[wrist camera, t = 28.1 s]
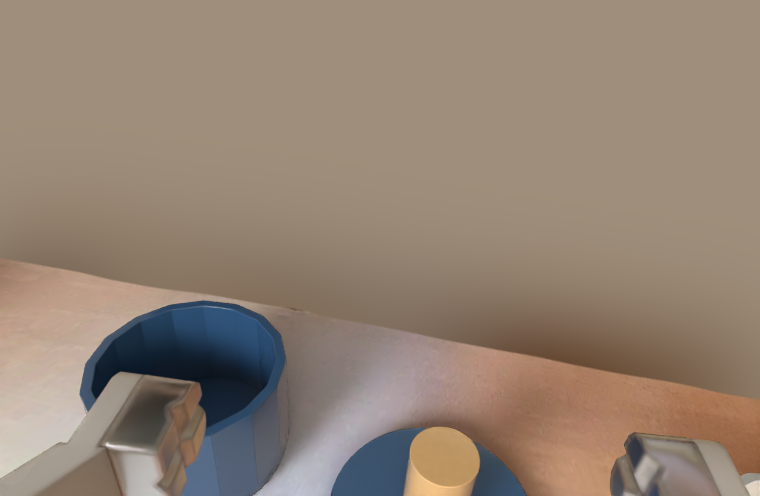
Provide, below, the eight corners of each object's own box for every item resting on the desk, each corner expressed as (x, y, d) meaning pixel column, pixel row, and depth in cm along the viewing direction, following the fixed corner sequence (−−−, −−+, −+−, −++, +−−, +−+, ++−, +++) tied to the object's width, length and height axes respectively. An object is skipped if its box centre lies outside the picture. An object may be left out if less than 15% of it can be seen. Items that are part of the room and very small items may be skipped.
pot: (97, 543, 35) (64, 463, 31) (117, 390, 46) (94, 314, 41) (301, 496, 39) (299, 418, 34) (275, 364, 50) (271, 291, 45)
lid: (357, 678, 30) (364, 613, 26) (309, 459, 42) (309, 389, 37) (576, 604, 34) (614, 537, 30) (478, 423, 46) (495, 355, 41)
